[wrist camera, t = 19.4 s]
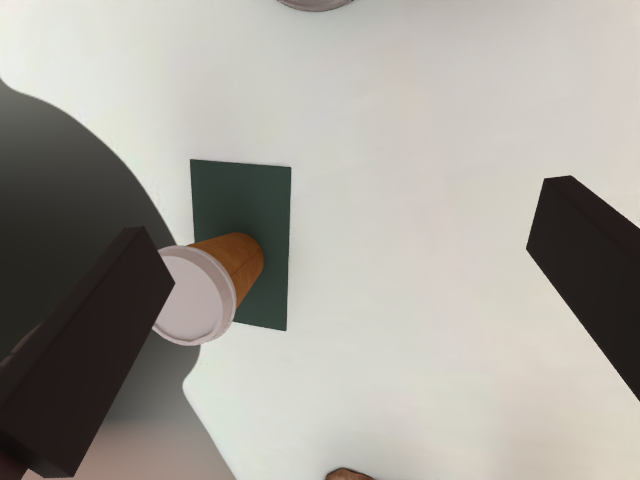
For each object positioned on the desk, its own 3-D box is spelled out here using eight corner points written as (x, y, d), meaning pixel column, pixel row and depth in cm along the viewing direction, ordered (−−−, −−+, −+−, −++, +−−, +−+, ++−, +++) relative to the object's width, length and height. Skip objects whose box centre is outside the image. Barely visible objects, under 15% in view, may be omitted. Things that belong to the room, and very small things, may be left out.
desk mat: (190, 159, 39) (189, 159, 39) (291, 167, 36) (290, 167, 36) (199, 314, 45) (198, 315, 45) (286, 330, 42) (285, 331, 42)
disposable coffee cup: (206, 288, 43) (137, 341, 32) (201, 215, 40) (123, 245, 29) (277, 298, 41) (230, 358, 30) (277, 222, 38) (225, 256, 27)
